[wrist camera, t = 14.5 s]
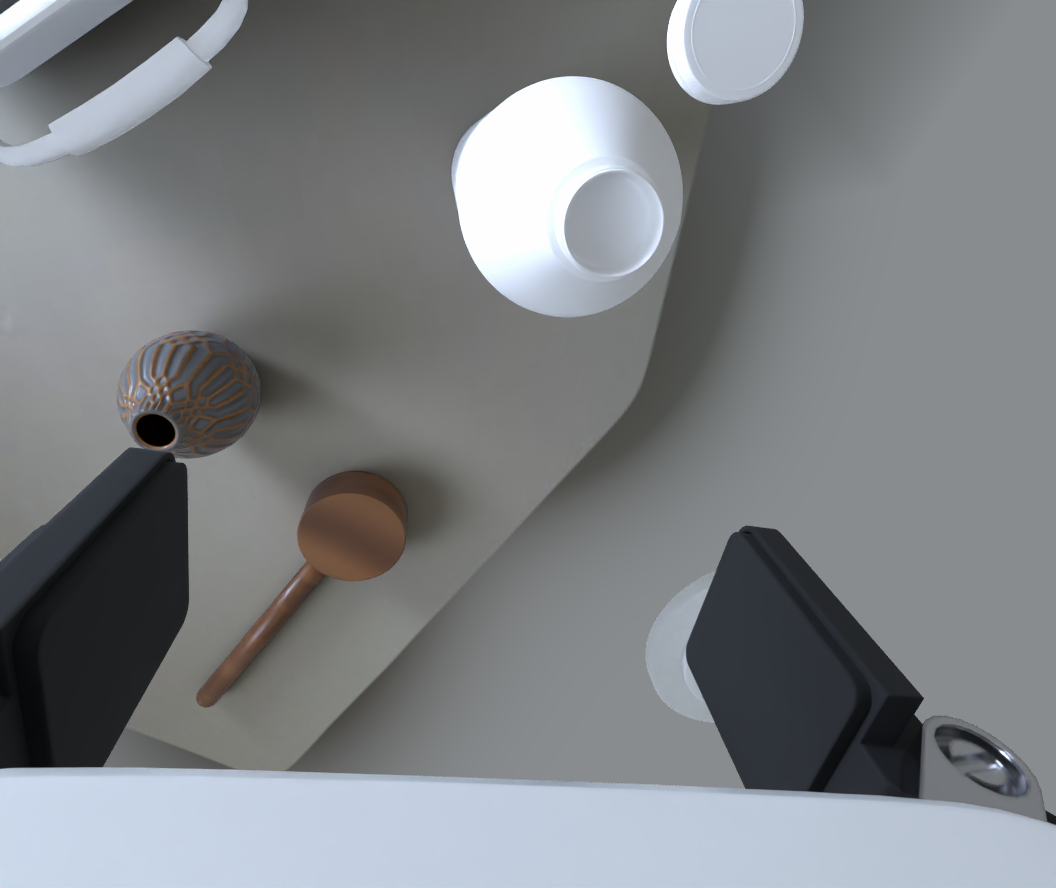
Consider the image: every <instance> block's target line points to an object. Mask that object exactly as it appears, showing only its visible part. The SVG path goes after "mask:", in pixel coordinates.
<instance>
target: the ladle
mask: <svg viewBox="0 0 1056 888" xmlns="http://www.w3.org/2000/svg"><path fill="white" fill-rule="evenodd" d="M407 520H408V512H407V506H406V503H405V501H404V498H403V497H402V495H401V494H400V492H399V491H398V490H397V489H396V488H395V487H394V486H393V485H392V484H391V483H389V482H388V481H387V480H385V479H383V478H381V477H379V476H376V475H374V474H370V473H365V472H344V473H340V474H336V475H334V476H331V477H329V478H327V479H326V480H324V481H323V482H321V483H320V484H319V485H318V486H317V487H316V488H315V489H314V490H313V492H312V493H311V495H310V497H309V499H308V501H307V504H306V507H305V509H304V512H303V514H302V517H301V519H300V522H299V525H298V530H297V540H298V545H299V548H300V550H301V552H302V554H303V556H304V557H305V559H306V560H307V562H306V563H305V565H304V566H303V567H302V568H301V569H300V571H299V572H298V573H297V574H296V575H295V577H294V578H293V579H292V580H291V581H290V583H289V584H288V585H287V586H286V587H285V589H284V590H283V591H282V592H281V593H280V595H279V596H278V597H277V598H276V599H275V601H274V602H273V603H272V604H271V605H270V606H269V608H268V609H267V610H266V611H265V612H264V614H263V615H262V616H261V617H260V618H259V620H258V621H257V622H256V623H255V624H254V626H253V627H252V628H251V629H250V630H249V632H248V633H247V634H246V635H245V636H244V638H243V639H242V640H241V641H240V642H239V644H238V645H237V646H236V647H235V648H234V650H233V651H232V652H231V653H230V654H229V656H228V657H227V658H226V659H225V660H224V662H223V663H222V664H221V665H220V666H219V667H218V669H217V670H216V671H215V672H214V673H213V675H212V676H211V677H210V678H209V679H208V681H207V682H206V683H205V684H204V685H203V687H202V688H201V689H200V690H199V692H198V693H197V696H196V700H197V703H198V704H199V705H200V706H202V707H211V706H213V705H214V704H215V703H216V702H217V701H218V700H219V699H220V697H221V696H222V695H223V694H224V693H225V692H226V690H227V689H228V688H229V687H230V686H231V685H232V683H233V682H234V681H235V680H236V679H237V678H238V676H239V675H240V674H241V673H242V672H243V671H244V669H245V668H246V667H247V666H248V665H249V664H250V662H251V661H252V660H253V659H254V658H255V657H256V655H257V654H258V653H259V652H260V651H261V650H262V648H263V647H264V646H265V645H266V644H267V642H268V641H269V640H270V639H271V638H272V637H273V635H274V634H275V633H276V632H277V631H278V630H279V628H280V627H281V626H282V625H283V624H284V623H285V621H286V620H287V619H288V618H289V617H290V616H291V614H292V613H293V612H294V611H295V610H296V609H297V607H298V606H299V605H300V604H301V603H302V602H303V600H304V599H305V598H306V597H307V596H308V594H309V593H310V592H311V591H312V590H313V589H314V587H315V586H316V585H317V584H318V583H319V582H320V580H321V579H322V578H323V577H324V576H325V575H327V576H329V577H332V578H335V579H340V580H346V581H361V580H367V579H371V578H374V577H377V576H379V575H381V574H383V573H385V572H386V571H388V570H389V569H390V568H391V567H393V566H394V565H395V564H396V562H397V561H398V560H399V558H400V557H401V555H402V553H403V550H404V546H405V540H406V530H407Z"/></svg>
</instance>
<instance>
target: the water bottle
mask: <svg viewBox="0 0 1056 888" xmlns="http://www.w3.org/2000/svg"><path fill="white" fill-rule="evenodd" d="M803 21H804V9H803V2H802V0H677V2H676V4H675V7H674V9H673V12H672V15H671V18H670V22H669V26H668V33H667V52H668V59H669V63H670V67H671V69H672V72H673V74H674V76H675V78H676V80H677V82H678V83H679V84H680V86H681V87H682V88H683V89H684V90H685V91H686V92H687V93H688V94H689V95H690V96H692V97H693V98H695V99H697V100H699V101H701V102H704V103H708V104H714V105H715V104H716V105H721V104H731V103H736V102H741V101H746V100H747V99H748V100H749V99H753V98H754V97H757V96H758V95H761V94H762V93H765V92H766V91H767V90H769V88H771V87H773V85H774V84H776V82H777V81H779V80H780V78H781V77H782V76H783V74H784V73H785V72H786V70H787V69H788V68H789V66H790V65H791V62H792V61H793V59H794V56H795V55H796V52H797V50H798V47H799V44H800V41H801V36H802V31H803ZM452 185H453V190H454V194H455V199H456V205H457V209H458V212H459V220H460V225H461V229H462V233H463V237H464V240H465V242H466V245H467V248H468V250H469V252H470V254H471V256H472V258H473V260H474V262H475V264H476V265H477V267H478V268H479V270H480V271H481V273H482V274H483V275H484V277H485V278H486V279H487V280H488V281H489V282H490V283H491V284H492V286H494V287H495V288H496V289H497V290H498V291H499V292H500V293H501V294H503V295H504V296H505V297H507V298H508V299H509V300H511V301H513V302H514V303H516V304H518V305H520V306H522V307H524V308H526V309H528V310H531V311H534V312H537V313H540V314H544V315H549V316H556V317H579V316H586V315H591V314H595V313H599V312H602V311H605V310H607V309H610V308H612V307H614V306H616V305H618V304H620V303H622V302H624V301H625V300H627V299H628V298H630V297H631V296H633V295H634V294H635V293H636V292H638V291H639V290H640V289H641V288H642V287H643V286H644V285H645V284H646V283H647V282H648V281H649V280H650V279H651V278H652V277H653V276H654V275H655V273H656V272H657V271H658V269H659V268H660V267H661V265H662V264H663V262H664V260H665V259H666V257H667V255H668V253H669V251H670V249H671V247H672V245H673V242H674V240H675V237H676V235H677V232H678V229H679V226H680V221H681V214H682V204H683V184H682V175H681V169H680V165H679V161H678V157H677V154H676V151H675V149H674V146H673V144H672V141H671V139H670V137H669V135H668V134H667V132H666V130H665V128H664V127H663V125H662V124H661V122H660V121H659V120H658V118H657V117H656V116H655V115H654V114H653V112H652V111H651V110H650V109H649V108H648V107H647V106H646V105H645V104H644V103H643V102H641V101H640V100H639V99H638V98H636V97H635V96H634V95H632V94H631V93H629V92H627V91H626V90H624V89H622V88H620V87H618V86H616V85H614V84H611V83H609V82H606V81H603V80H599V79H595V78H589V77H580V76H567V77H558V78H552V79H548V80H544V81H541V82H538V83H535V84H532V85H530V86H528V87H526V88H524V89H522V90H520V91H518V92H517V93H515V94H513V95H512V96H510V97H509V98H508V99H506V100H505V101H504V102H502V103H501V104H500V105H499V106H498V107H497V108H495V109H494V110H492V111H491V112H489V113H488V114H487V115H485V116H484V117H483V118H482V119H480V120H478V121H477V122H476V123H475V124H473V125H472V126H471V127H470V128H469V129H468V130H467V132H466V133H465V134H464V135H463V137H462V138H461V140H460V142H459V144H458V146H457V148H456V151H455V154H454V158H453V162H452Z"/></svg>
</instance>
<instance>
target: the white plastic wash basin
mask: <svg viewBox="0 0 1056 888" xmlns="http://www.w3.org/2000/svg"><path fill="white" fill-rule="evenodd" d="M131 1H133V0H0V88H2V87H4V86H7V85H10V84H13V83H15V82H17V81H18V80H20V79H21V78H22V77H24V76H25V75H27V74H28V73H30V72H31V71H33V70H34V69H35V68H37V67H38V66H40V65H41V64H43V63H44V62H45V61H47V60H48V59H50V58H51V57H53V56H54V55H55V54H57V53H58V52H60V51H61V50H63V49H64V48H65V47H67V46H68V45H70V44H71V43H73V42H74V41H75V40H77V39H78V38H80V37H81V36H83V35H84V34H86V33H87V32H88V31H90V30H91V29H93V28H94V27H96V26H97V25H98V24H100V23H101V22H103V21H104V20H106V19H107V18H108V17H110V16H111V15H113V14H114V13H116V12H117V11H118V10H120V9H121V8H123V7H124V6H126V5H127V4H128V3H130V2H131ZM247 10H248V0H222V2H221V4H220V6H219V7H218V9H217V11H216V12H215V13H214V14H213V15H212V16H211V17H210V19H209V20H208V21H207V22H206V23H205V24H204V25H203V26H202V27H201V28H200V29H199V30H198V31H197V32H196V33H195V34H194V35H193V36H192V37H190V38H189V39H188V40H187V41H186V40H184V39H182V38H180V37H176V38H175V39H173V40H172V41H171V42H170V43H168V44H167V45H166V46H164V47H163V48H162V49H161V50H159V51H158V52H157V53H155V54H154V55H153V56H152V57H150V58H149V59H148V60H146V61H145V62H144V63H142V64H141V65H140V66H138V67H137V68H136V69H134V70H133V71H132V72H130V73H129V74H127V75H126V76H125V77H123V78H122V79H121V80H119V81H118V82H116V83H115V84H114V85H112V86H111V87H109V88H107V89H106V90H104V91H103V92H101V93H100V94H98V95H97V96H95V97H93V98H92V99H90V100H89V101H87V102H86V103H84V104H82V105H81V106H79V107H77V108H76V109H74V110H72V111H71V112H69V113H67V114H66V115H64V116H62V117H60V118H59V119H57V120H55V121H54V122H52V123H50V124H49V125H48V126H49V128H50V130H51V132H52V133H50V134H48V135H46V136H43V137H41V138H39V139H37V140H34V141H31V142H29V143H26V144H23V145H10V144H7V143H4V142H3V141H1V140H0V162H2V163H5V164H7V165H10V166H37V165H40V164H44V163H47V162H51V161H54V160H57V159H60V158H62V157H64V156H66V155H68V154H72V155H75V156H82V155H84V154H86V153H88V152H90V151H92V150H94V149H96V148H98V147H100V146H102V145H104V144H106V143H108V142H110V141H112V140H114V139H116V138H118V137H120V136H121V135H123V134H124V133H126V132H128V131H129V130H131V129H132V128H134V127H136V126H137V125H139V124H140V123H142V122H144V121H145V120H147V119H148V118H150V117H151V116H153V115H154V114H155V113H157V112H158V111H160V110H161V109H162V108H164V107H165V106H167V105H168V104H169V103H171V102H172V101H174V100H175V99H176V98H178V97H179V96H181V95H182V94H183V93H184V92H185V91H186V90H187V89H189V88H190V87H191V86H192V85H193V84H194V83H195V82H197V81H198V80H199V79H200V78H201V77H202V76H203V75H204V74H206V73H207V72H208V71H209V70H210V69H211V68H212V66H211V65H210V63H209V62H208V61H209V60H210V59H211V58H213V57H214V56H215V55H216V54H217V53H218V52H219V51H220V50H222V49H223V48H224V47H225V46H226V44H227V43H228V42H229V41H230V39H231V38H232V37H233V35H234V34H235V33H236V32H237V30H238V29H239V28H240V26H241V24H242V21H243V19H244V17H245V14H246V12H247Z"/></svg>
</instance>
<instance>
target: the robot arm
mask: <svg viewBox="0 0 1056 888" xmlns="http://www.w3.org/2000/svg"><path fill="white" fill-rule="evenodd" d="M188 605H189V569H188V492H187V468H186V465H185V464H184V463H178V462H176V461H175V457H174V455H173V454H172V453H171V452H164V451H156V450H148V449H140V448H128V449H127V450H125V451H124V452H123V453H122V454H121V455H120V456H119V457H118V458H117V459H116V460H115V461H114V462H113V463H111V464H110V465H109V466H108V467H107V468H106V469H105V470H104V471H103V472H102V473H101V474H100V475H99V476H97V477H96V478H95V479H94V480H93V481H92V482H91V483H90V484H89V485H88V486H87V487H86V488H85V489H83V490H82V491H81V492H80V493H79V494H78V495H77V496H76V497H75V498H74V499H73V500H72V501H71V502H69V503H68V504H67V505H66V506H65V507H64V508H63V509H62V510H61V511H60V512H59V513H58V514H57V515H55V516H54V517H53V518H52V519H51V520H50V521H49V522H48V523H47V524H46V525H42V526H41V527H39V528H38V529H36V530H35V531H33V532H32V533H31V534H30V535H29V536H28V537H27V538H26V539H25V540H24V541H22V542H21V543H20V544H19V545H18V546H17V547H16V548H15V549H14V550H13V551H12V552H10V553H9V554H8V555H7V556H6V557H5V558H4V559H3V560H2V561H1V562H0V888H1056V816H1054V815H1053V814H1051V813H1049V812H1047V811H1046V810H1045V807H1044V802H1043V796H1042V791H1041V788H1040V786H1039V784H1038V781H1037V779H1036V777H1035V776H1034V774H1033V773H1032V772H1031V770H1030V769H1029V767H1028V766H1027V765H1026V764H1025V762H1024V761H1022V760H1021V759H1020V758H1019V757H1018V756H1017V755H1016V754H1015V753H1014V752H1013V751H1012V750H1011V749H1010V748H1009V747H1007V746H1006V745H1005V744H1003V743H1002V742H1001V741H999V740H998V739H997V738H996V737H994V736H992V735H991V734H989V733H987V732H986V731H984V730H982V729H980V728H979V727H977V726H974V725H972V724H969V723H968V722H965V721H963V720H961V719H957V718H953V717H949V716H932V717H930V718H929V719H926V720H925V722H924V723H923V724H922V723H921V722H920V721H919V720H918V718H917V717H916V716H915V715H914V713H915V712H916V710H917V709H918V707H919V705H920V704H921V702H922V701H923V699H924V698H923V697H922V696H921V695H920V693H919V692H918V691H917V690H916V689H915V688H914V686H913V685H912V684H911V683H910V682H909V681H908V680H907V678H906V677H905V676H904V675H903V674H902V673H901V672H900V670H899V669H898V668H897V667H896V666H895V665H894V663H893V662H892V661H891V660H890V659H889V658H888V656H887V655H886V654H885V653H884V652H883V651H882V649H881V648H880V647H879V646H878V645H877V644H876V643H875V641H874V640H873V639H872V638H871V637H870V636H869V635H868V633H867V632H866V631H865V630H864V629H863V627H862V626H861V625H860V624H859V623H858V622H857V621H856V619H855V618H854V617H853V616H852V615H851V614H850V613H849V611H848V610H847V609H846V608H845V607H844V606H843V604H842V603H841V602H840V601H839V600H838V599H837V597H836V596H835V595H834V594H833V593H832V592H831V591H830V590H829V588H828V587H827V586H826V585H825V584H824V583H823V581H822V580H821V579H820V578H819V577H818V576H817V574H816V573H815V572H814V571H813V570H812V569H811V567H810V566H809V565H808V564H807V563H806V562H805V561H804V559H803V558H802V557H801V556H800V555H799V554H798V553H797V552H796V550H795V549H794V548H793V547H792V546H791V544H790V543H789V542H788V541H787V540H786V539H785V538H784V536H783V535H782V534H781V533H780V532H778V530H776V529H769V528H760V527H753V526H745V527H742V528H741V529H740V531H739V532H735V533H733V534H732V535H731V536H730V538H729V540H728V542H727V545H726V548H725V550H724V552H723V555H722V557H721V560H720V562H719V565H718V567H717V570H716V572H715V575H714V577H713V580H712V582H711V585H710V587H709V590H708V592H707V595H706V597H705V600H704V602H703V605H702V607H701V610H700V612H699V615H698V617H697V620H696V622H695V625H694V627H693V630H692V632H691V635H690V637H689V640H688V642H687V645H686V647H685V649H684V652H683V656H682V673H683V677H684V679H685V681H686V684H687V686H688V688H689V690H690V691H691V692H692V693H693V695H694V696H695V697H696V698H698V699H699V700H700V701H702V702H704V703H706V705H707V707H708V709H709V711H710V713H711V716H712V718H713V720H714V722H715V724H716V726H717V728H718V731H719V733H720V735H721V737H722V739H723V741H724V743H725V746H726V748H727V750H728V752H729V754H730V756H731V758H732V761H733V763H734V765H735V767H736V769H737V771H738V774H739V776H740V778H741V780H742V782H743V784H744V786H745V789H738V788H716V787H693V786H670V785H647V784H623V783H621V784H620V783H597V782H572V781H547V780H520V779H518V780H517V779H492V778H465V777H439V776H410V775H409V776H408V775H379V774H347V773H318V772H287V771H256V770H221V769H220V770H219V769H178V768H177V769H176V768H113V767H106V768H105V767H103V765H104V764H105V762H106V760H107V758H108V757H109V755H110V753H111V751H112V749H113V748H114V746H115V744H116V742H117V740H118V739H119V737H120V735H121V733H122V732H123V730H124V728H125V726H126V725H127V723H128V721H129V719H130V717H131V716H132V714H133V712H134V710H135V709H136V707H137V705H138V703H139V701H140V700H141V698H142V696H143V694H144V693H145V691H146V689H147V687H148V685H149V684H150V682H151V680H152V678H153V676H154V675H155V673H156V671H157V669H158V668H159V666H160V664H161V662H162V660H163V659H164V657H165V655H166V653H167V652H168V650H169V648H170V646H171V644H172V643H173V641H174V639H175V637H176V636H177V634H178V632H179V630H180V628H181V627H182V625H183V623H184V620H185V617H186V614H187V610H188Z"/></svg>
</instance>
